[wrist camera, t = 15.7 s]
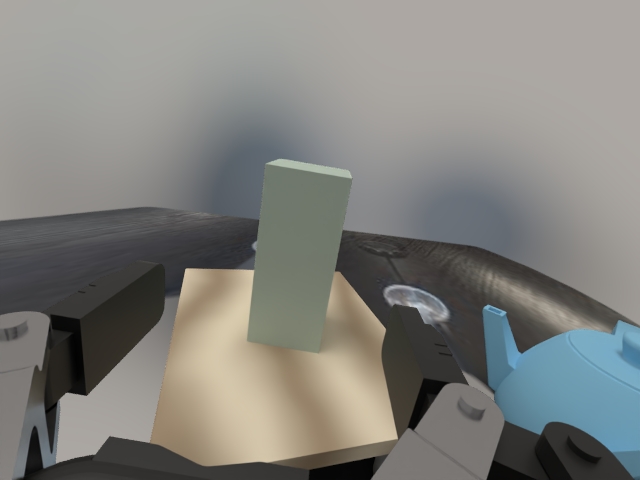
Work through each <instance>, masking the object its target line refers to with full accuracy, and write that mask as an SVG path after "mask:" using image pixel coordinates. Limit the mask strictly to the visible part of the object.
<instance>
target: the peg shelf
mask: <svg viewBox="0 0 640 480" xmlns="http://www.w3.org/2000/svg"><path fill="white" fill-rule="evenodd" d="M253 277H254V270H225V269H186V270H185V275H184V280H183V285H182V290H181V295H180V300H179V305H178V310H177V314H176V319H175V324H174V329H173V334H172V338H171V343H170V348H169V353H168V358H167V363H166V367H165V373H164V378H163V382H162V387H161V392H160V397H159V401H158V407H157V411H156V416H155V421H154V426H153V431H152V435H151V440H150V443H152V444H158V445H161V446H163V447H165V448H167V449H169V450H171V451H173V452H175V453H177V454H179V455H181V456H183V457H185V458H187V459H189V460H191V461H193V462H195V463H197V464H200V465H202V466H218V465H228V464H239V463H250V462H266V463H272V464H278V465H284V466H290V467H296V468H302V469H308V470H310V469H315V468H320V467H325V466H330V465H335V464H340V463H345V462H351V461H356V460H361V459H366V458H371V457H375V461H374V464H373V474H374V475H375V473H376V472H377V470H378V469H379V468H380V466H381V465H382V463H383V462H384V461H385V459H386V458H387V456H388V455H389V453H390V452H391V451H392V449H393V448H394V446H395V445H396V444H397V442H398V437H397V432H396V427H395V423H394V418H393V413H392V408H391V403H390V399H389V394H388V389H387V384H386V379H385V375H384V370H383V365H382V359H381V351H382V344H383V340H384V336H385V332H386V329H385V328H384V326H383V325H382V324H381V323H380V322H379V320H378V319H377V318H376V317H375V315H374V314H373V313H372V312H371V310H370V309H369V308H368V307H367V305H366V304H365V303H364V302H363V300H362V299H361V298H360V297H359V295H358V294H357V293H356V292H355V291H354V289H353V288H352V287H351V286H350V284H349V283H348V282H347V281H346V279H345V278H344V277H343V276H342V274H341V273H340V272H334V277H333V282H332V287H331V292H330V297H329V303H328V308H327V313H326V318H325V323H324V329H323V334H322V339H321V344H320V349H319V354H318V353H312V352H306V351H301V350H295V349H289V348H283V347H277V346H271V345H266V344H260V343H254V342H248V341H247V333H248V324H249V314H250V305H251V296H252V286H253Z"/></svg>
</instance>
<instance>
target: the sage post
mask: <svg viewBox="0 0 640 480" xmlns="http://www.w3.org/2000/svg"><path fill="white" fill-rule="evenodd" d="M351 183H352V176H351V174H350V171H349V170H344V169H338V168H332V167H326V166H320V165H314V164H308V163H302V162H297V161H291V160H285V159H279V160H275V161H272V162H269V163H266V164H265V174H264V184H263V192H262V201H261V212H260V220H259V230H258V239H257V248H256V258H255V267H254V277H253V286H252V296H251V305H250V314H249V324H248V333H247V341H248V342H254V343H260V344H266V345H271V346H277V347H283V348H289V349H295V350H301V351H306V352H312V353H318V354H319V349H320V344H321V339H322V334H323V329H324V323H325V318H326V313H327V308H328V303H329V297H330V292H331V287H332V282H333V277H334V272H335V266H336V261H337V256H338V251H339V246H340V240H341V235H342V230H343V224H344V220H345V214H346V209H347V203H348V198H349V194H350V188H351Z"/></svg>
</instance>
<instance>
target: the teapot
mask: <svg viewBox="0 0 640 480" xmlns="http://www.w3.org/2000/svg"><path fill="white" fill-rule="evenodd" d="M506 313H507V312H505V311H502V310H500V309H497V308H495V307H493V306H490V305H487V306H486V307H484V308H483V322H484V336H485V349H486V362H487V375H488V386H489V387H490V388H491V389H493V390H494V391H495V395H494V400H495V403H496V404H497V406H498V407H499V408H500V410H501V411H502V413H503V416H504V420H505V421H508V422H510V423H512V424H514V425H517V426H519V427H522V428H524V429H527V430H529V431H532V432H534V433H537V434H539V435H541V433H542V431H543V429H544V427H545V425H546V424H547V423H549V422H563V423H566V424H569V425H572V426H574V427H577V428H579V429H581V430H583V431H584V432H586V433H588V434H589V435H591V436H593V437H594V438H595V439H597V440H598V441H600V442H601V443H602V444H603V445H604V446H606V447H607V448H608V449H609V450H610V451H611V452H612V453H613V454H614V455H615V457H616V458H617V459H618V460H619V461H620V463H621V464H622V465H623V466H624V467H625V469H626V470H627V471H628V472H629V473H630V475H631V476H632V477H633V478H634V479H635V480H640V328H638V327H635V326H633V325H630V324H627V323H625V322H622V321H618V322H617V324H616V326H615V328H614V329H613V331H612V333H611V334H609V333H605V332H600V331H596V330H589V329H578V330H571V331H568V332H565V333H563V334H560V335H557V336H555V337H553V338H550V339H548V340H546V341H544V342H542V343H540V344H538V345H536V346H534V347H532V348H531V349H529V350H527V351H526V352H524V353H523V354H521V353H520V352H518V350H517V347H516V344H515V341H514V338H513V335H512V332H511V329H510V326H509V323H508V320H507V317H506Z"/></svg>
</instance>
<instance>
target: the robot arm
mask: <svg viewBox="0 0 640 480" xmlns="http://www.w3.org/2000/svg"><path fill="white" fill-rule="evenodd" d="M164 301H165V269H164V266H163V265H162V264H157V263H152V262H146V261H136V262H135V263H133V264H131V265H130V266H128V267H126V268H125V269H123V270H121V271H120V272H116V273H113V274H110V275H107V276H103V277H101V278H99V279H98V280H96V281H94V282H93V283H91V284H89V286H86V287H84V288H82V289H81V290H79V291H78V293H74V294H72V295H70V296H69V297H67V298H65V299H64V300H62V301H60V302H58V303H57V304H55V305H53V306H52V307H50V308H48V309H46V310H45V311H43V312H41V313H39V312H29V311H28V312H15V313H9V314H5V315H1V316H0V480H309V470H308V469H302V468H296V467H290V466H284V465H278V464H272V463H266V462H250V463H239V464H228V465H218V466H202V465H200V464H197V463H195V462H193V461H191V460H189V459H187V458H185V457H183V456H181V455H179V454H177V453H175V452H173V451H171V450H169V449H167V448H165V447H163V446H161V445H158V444H152V443H146V442H140V441H134V440H128V439H122V438H116V437H109V438H108V439H107V440H106V442H105V443H104V444H103V446H102V447H101V448H100V450H99V451H98V452H97V453H96V455H89V456H84V457H79V458H74V459H70V460H67V461H63V462H59V463H57V464H56V452H57V441H58V429H59V418H60V417H59V416H60V401H59V399H60V398H61V397H62V396H63V395H64V394H65V393H73V394H79V395H85V396H87V395H88V394H89V393H90V392H91V391H92V389H94V388H95V387H96V385H98V384H99V383H100V381H101V380H102V379H103V378H104V377H105V376H106V375H107V374H108V373H109V372H110V371H111V370H112V369H113V368H114V367H115V366H116V365H117V364H118V363H119V362H120V361H121V360H122V359H123V358H124V357H125V356H126V355H127V353H129V352H130V351H131V350H132V349H133V348H134V347H135V345H137V343H138V342H139V341H140V340H141V339H142V338H143V337H144V336H145V335H146V334H147V333H148V332H149V331H150V330H151V329H152V328H153V327H154V326H155V325H156V324H157V323H158V322H159V320H160V318H161V316H162V314H163V311H164V303H165V302H164ZM381 359H382V365H383V370H384V375H385V379H386V384H387V389H388V394H389V399H390V403H391V408H392V413H393V418H394V423H395V427H396V432H397V437H398V442H397V444H396V445H395V446H394V448H393V449H392V451H391V452H390V453H389V455H388V456H387V458H386V459H385V461H384V462H383V463H382V465H381V466H380V468H379V469H378V470H377V472H376V473H375V475H374V476H373V477H372V479H371V480H635V479H634V478H633V477H632V476H631V475H630V473H629V472H628V471H627V470H626V469H625V467H624V466H623V465H622V464H621V463H620V461H619V460H618V459H617V458H616V457H615V455H614V454H613V453H612V452H611V451H610V450H609V449H608V448H607V447H606V446H604V445H603V444H602V443H601V442H600V441H598V440H597V439H595V438H594V437H593V436H591V435H589V434H588V433H586V432H584V431H583V430H581V429H579V428H577V427H574V426H572V425H569V424H566V423H563V422H549V423H547V424H546V425H545V427H544V429H543V431H542V433H541V435H539V434H537V433H534V432H532V431H529V430H527V429H524V428H522V427H519V426H517V425H514V424H512V423H510V422H508V421H505V420H504V416H503V413H502V411H501V410H500V408H499V407H498V406H497V404H496V403H495V402H494V401H493V400H492V399H491V398H489V397H488V396H487V395H486V394H484V393H483V392H481V391H479V390H477V389H475V388H473V387H471V386H469V384H468V383H467V381H466V379H465V377H464V375H463V373H462V371H461V369H460V368H459V366H458V364H457V362H456V360H455V358H454V357H452V353H451V351H450V349H449V348H447V344H446V342H445V340H444V338H443V336H442V335H441V334H440V333H439V332H438V331H437V330H436V329H435V328H434V327H433V326H431V325H429V324H424V322H423V319H422V317H421V315H420V313H419V311H418V309H417V308H414V307H408V306H402V305H396V304H395V305H393V307H392V310H391V313H390V317H389V321H388V324H387V328H386V332H385V336H384V340H383V344H382V351H381Z"/></svg>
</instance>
